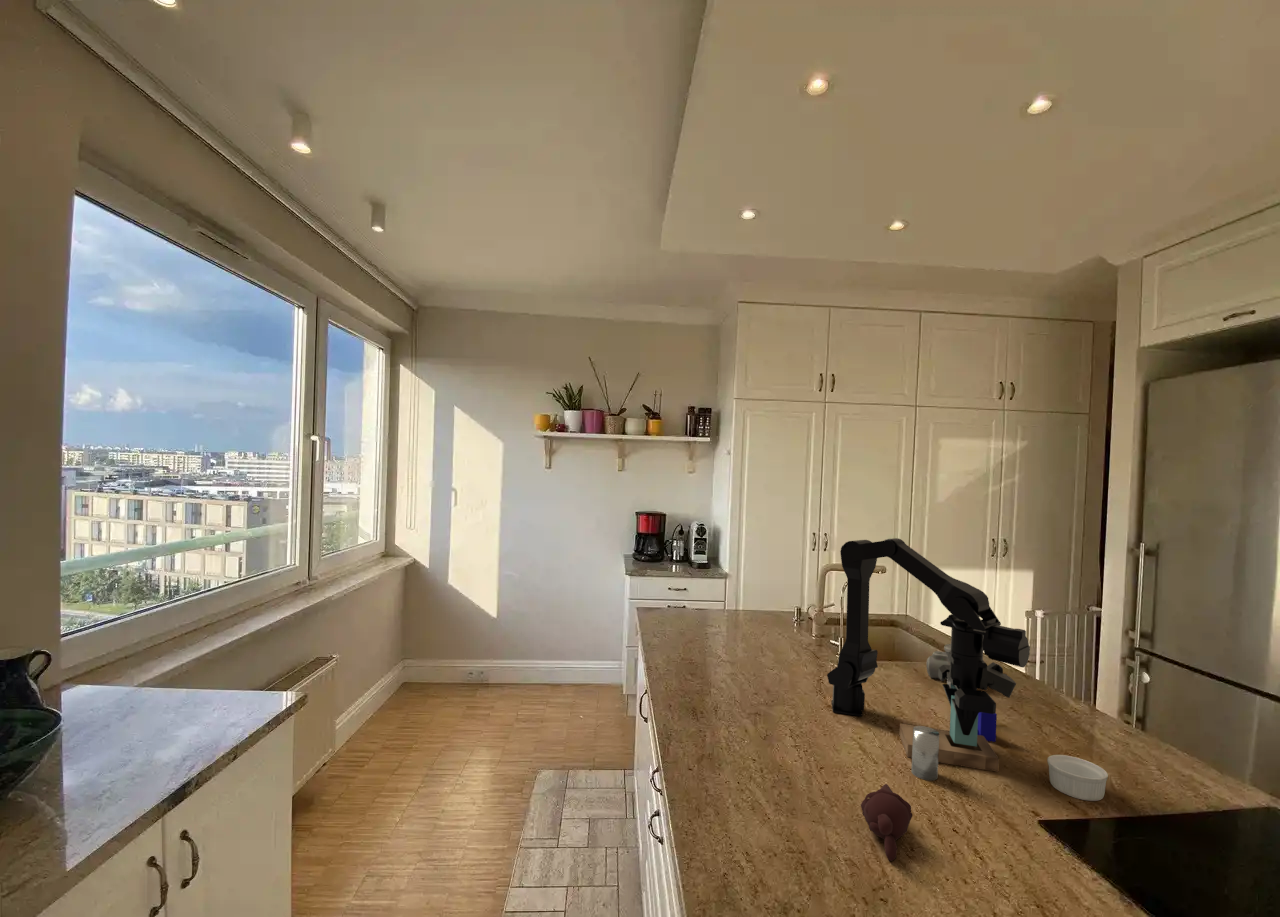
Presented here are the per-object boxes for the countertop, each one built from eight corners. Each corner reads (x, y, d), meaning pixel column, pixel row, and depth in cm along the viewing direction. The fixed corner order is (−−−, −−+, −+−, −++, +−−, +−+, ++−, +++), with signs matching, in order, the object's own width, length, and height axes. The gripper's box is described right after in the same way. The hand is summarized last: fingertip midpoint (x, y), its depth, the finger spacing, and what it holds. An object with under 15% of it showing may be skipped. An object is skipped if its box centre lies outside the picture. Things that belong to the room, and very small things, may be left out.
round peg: (913, 777, 110) (915, 734, 110) (909, 766, 114) (911, 724, 114) (939, 782, 108) (941, 738, 109) (934, 770, 113) (936, 728, 113)
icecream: (858, 764, 101) (854, 820, 87) (905, 763, 98) (908, 821, 84) (867, 805, 101) (865, 867, 87) (914, 805, 98) (920, 870, 84)
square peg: (954, 743, 118) (956, 702, 118) (949, 734, 122) (951, 695, 122) (976, 746, 117) (978, 705, 117) (971, 737, 121) (973, 698, 121)
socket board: (907, 757, 118) (907, 744, 118) (899, 735, 127) (899, 723, 127) (998, 771, 113) (998, 758, 113) (983, 747, 123) (983, 735, 123)
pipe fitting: (980, 681, 161) (977, 643, 161) (976, 692, 155) (972, 653, 155) (932, 675, 169) (928, 639, 169) (926, 685, 162) (922, 648, 162)
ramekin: (1035, 781, 111) (1036, 758, 111) (1065, 773, 114) (1066, 750, 114) (1087, 808, 102) (1088, 782, 102) (1118, 798, 106) (1119, 774, 106)
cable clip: (952, 716, 139) (953, 690, 139) (973, 718, 138) (974, 692, 138) (972, 740, 127) (973, 711, 127) (995, 742, 126) (996, 714, 126)
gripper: (1029, 673, 108) (1025, 759, 108) (997, 644, 126) (993, 717, 126) (961, 665, 111) (957, 748, 111) (939, 637, 129) (936, 709, 129)
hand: (963, 730), depth 120 cm, fingers closed on square peg, 4 cm apart
